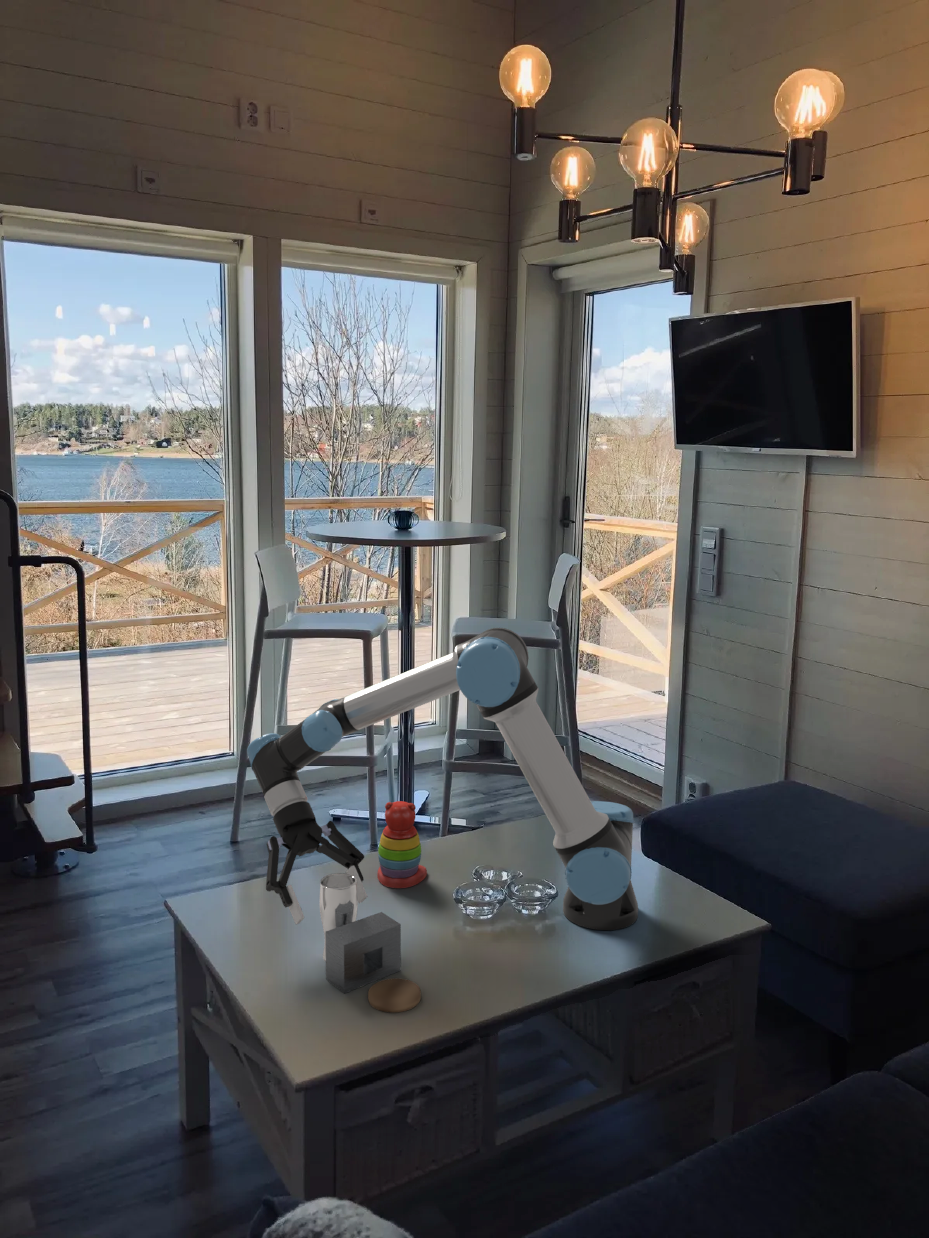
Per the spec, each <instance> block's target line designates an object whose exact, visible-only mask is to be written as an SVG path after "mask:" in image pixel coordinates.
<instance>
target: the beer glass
mask: <svg viewBox="0 0 929 1238" xmlns="http://www.w3.org/2000/svg"><path fill="white" fill-rule="evenodd" d="M319 882H320V885H319V887H320V888H319V913H320V920H321V924H322V929H323V936H324V937H325V932H326V931H329V930H332V929H335V928H337V927H340V926H343V925H346V924H349V923H351V922H354V921H357V917H358V916H357V915H358V906H359V905H358V904H359V902H358V894H357V883H356V878H355V877H354V876H352V875H350V874H346V872H345V873H342V872H340V873H331V874H328V875H326V876H325V875H324V876H323V877H322V878H321V879H320V881H319ZM322 959H323V961H324V963H326V941H325V940H324V946H323V952H322Z"/></svg>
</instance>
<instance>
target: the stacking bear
mask: <svg viewBox="0 0 929 1238" xmlns="http://www.w3.org/2000/svg"><path fill="white" fill-rule="evenodd" d="M416 807H417V806H416V805H415V804H414V803H413V802H407V801H401V800H397V801H393V802H391V801H388V802H386V804H385V806H384V809H385V812H384V820H385V823H386V826H385V827H384V829H383V830H382V833H381V834H380V839H379V843H378V850H377V852H378V853H377V856H378V862H379V867H378V870H377V874H376V875H377V879H378V881H379V883H381V885H383V886H384V887H387V888H391V889H392V888H393V889H407V888H411V887H413V886H416V885H418V884H420V883H421V882H422V881H423V880H425V878H426V877H427V874H428V870H427V867H425V866H424V865H421V864H420V862H421V859H422V845H421V840H420V835H419V833H418V830H417V829H416V827H415V826H414V824H415V821H416Z"/></svg>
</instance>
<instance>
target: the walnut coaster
mask: <svg viewBox="0 0 929 1238" xmlns="http://www.w3.org/2000/svg"><path fill="white" fill-rule="evenodd" d="M421 992H422V991H421V988H420V986H419V985H418V984H417V983H415V982H414V981H412V980H409V979H406V978H397V977H395V978H386V979H382V980H379V981H377V982H375V983H373V985H371V986H370V987H369V989H368V992H367V993H368V995H367V997H368V998H367V999H368V1003H369V1004H370V1006H371V1007H372V1008H374V1009H376V1010H377V1011H380V1012H385V1013H391V1014H392V1013H393V1014H396V1013H402V1012H407V1011H410V1010H412V1009H413V1008H415V1007H416V1006H418V1005H419V1004H420V1001H421V1000H422V999H421V998H422V993H421Z"/></svg>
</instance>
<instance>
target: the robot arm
mask: <svg viewBox="0 0 929 1238" xmlns="http://www.w3.org/2000/svg"><path fill="white" fill-rule="evenodd" d="M453 650H454V651H453V652H451V653H448V654H446V655H444V656H441V657H438V658H435V659H434V660H431V661H427V662H425V663H424V664H422V665H419V666H417V667H414V668H412V669H409V670H407V671H405V672H402V673H400V674H397V675H394V676H393V677H389V678H387V679H385V680H382V681H379V682H377V683H375V684H373V685H370V686H368V687H365V688H363V689H361V690H358V691H355V692H353V693H351V694H348V695H346V696H344V697H341V698H336V699H335V698H334V699H332V700H329V701H326V702H324V703H323V704H321V706H320V707H319V708H317V710H315V711H314V712H312V714H311V713H310V714H309V715H308V716H307V717H306V718H304V719H302V721H301V722H299V723H298V724H296V726H294V727H292V728H291V729H290V730H288V732H286V733H285V734H284V735H282V736H281V735H280V734H278V733H275V732H274V733H273V732H272V733H266V734H263V735H262V736H261V737H256V738H255V739H253V740H252V741H251V742H250V743H249V745H248V746H247V749H246V754H247V757H248V760H249V764H250V768H251V771H253V774H254V776H255V778H256V780H257V782H258V785H259V787H260V790H261V792H262V795H263V797H264V800H265V803H266V805H267V808H268V809H269V810H268V811H269V812H270V815H271V816H272V817H273V818H272V820H273V821H272V822H273V823H274V825H275V827H276V831H277V833H278V834H279V836H280V837H276V836H275V835H273V836H271V837H270V838H269V839H268V841H267V842H266V848H267V852H268V860H267V869H266V870H267V871H266V882H265V890H266V891H267V892H271V891H272V892H273V891H274V893H275V894H277V895H279V897H280V900H281V902H282V906H283V907H285V908H289V911H290V914H291V916H292V919H293V921H294V924H295V925H299V924H300V923H301V922H302V921H303V920H304V919H305V915H304V912H303V910H302V908H301V905H300V903H299V900H298V897H297V895H296V892H295V891H294V888H293V886H292V885H293V884H289V885H287V884H288V881H289V879H290V875H291V872H292V869H293V867H294V864H295V860H296V858H297V856H298V857H303V856H305V855H307V854H313V853H314V852H317V853H318V854H323V855H324V856H326V857H328V858H330V859H331V860H333V861H334V862H336V863H337V864H339V865H341V866H343V867H344V868H346V869H347V870H346V871H345V874H350V875H352V876H354V877H355V878H356V883H357V894H358V904H361V903H363V902H364V901H365V900H366V899H367V898H368V897H369V896H368V894H367V892H366V888H365V887H364V884H363V881H364V876H363V873H362V872H361V869H360V867H359V864H361V862H362V861H363V860H364V859H365V854H364V853H362V852H361V850H359V849H358V847H356V846H355V845H354V844H353V843H352V842H350V840H349V839H348V838H346V836H345V835H343V834H342V833H341V832H340V831H339V830H338V829H337V826H336V825H335V823H334V822H333V820H329V821H328V822H327V823H326V824H324V825H322V826H321V825H319V824H318V822H317V819H316V815H315V813H314V810H313V808H312V806H311V803H310V802H308V800H309V799H308V796H307V794H306V792H305V789H304V787H303V785H302V783H301V780H300V777H299V775H298V771H301V770H302V769H304V768H305V767H306V766H308V765H309V764H311V762H312V763H313V761H314V760H317V759H318V758H320V757H321V756H322V755H323V754H325V753H326V752H329V751H330V750H331V749H332V748H334V747H335V746H336V745H337V744H339V743H340V742H341V741H342V739H343V738H344V737H346V736H349V735H351V734H353V733H355V732H358V731H360V730H363V729H365V728H367V727H370V726H372V725H374V724H378V723H380V722H382V721H383V722H384V721H385V720H387V719H390V718H393V717H395V716H399V715H400V714H403V713H405V712H407V711H410V710H413V709H416V708H418V707H421V706H423V705H426V704H429V703H431V702H434V701H435V700H438V699H441V698H444V697H446V696H449V695H452V694H454V693H455V692H456V693H457V692H458V691H461V693H462V695H463V696H464V697H465V698H466V699H467V700H468V701H469V702H471V703H473V704H475V705H476V707H477V709H478V710H479V712H480V714H481V716H482V718H483V719H484V720H485V721H486V720H487V721H490V722H493V723H495V725H496V726H497V729H498V731H500V733H501V735H502V738H503V739H504V741H505V743H506V744H507V746H508V748H509V750H510V752H511V753H512V756H513V758H514V759H515V761H516V763H517V765H518V767H519V768H520V770H521V772H522V774H523V776H524V778H525V779H526V782H527V783H528V785H529V787H530V789H531V790H532V792H533V794H534V796H535V798H536V800H537V801H538V803H539V805H540V806H541V809H542V811H543V812H544V814H545V816H546V818H547V820H548V821H549V823H550V825H551V827H552V828H553V830H554V833H555V835H554V839H553V841H552V844H553V847H554V849H555V851H556V853H557V854H558V856H559V859H560V860H561V862H562V864H563V866H564V868H565V872H564V874H565V880H566V884H567V886H568V887H567V889H566V891H565V894H564V897H563V901H562V912H563V914H564V916H565V917H566V919H568V921H570V922H571V923H573V924H575V925H577V926H580V927H583V928H587V929H590V930H599V931H614V930H615V931H616V930H620V929H625V928H627V927H629V926H631V925H633V924H634V923H636V921H637V919H638V918H639V917H638V915H639V904H638V901H637V896H636V894H635V891H634V887H633V883H632V880H631V879H632V851H633V850H632V849H633V833H634V832H633V831H634V823H635V820H634V812H633V810H632V808H631V807H628V806H627V805H625V804H621V803H617V802H612V801H600V800H599V801H597V800H595V801H594V800H593V801H591V799H590V798H589V795H588V793H587V792H586V790H585V788H584V786H583V784H582V782H581V781H580V779H579V778H578V776H577V773H576V771H575V770H574V768H573V767H572V765H571V763H570V761H569V759H568V757H567V756H566V754H565V751H564V750H563V748H562V746H561V744H560V743H559V741H558V738H557V737H556V734H555V733H554V731H553V730H552V727H551V726H550V724H549V722H548V720H547V719H546V716H545V715H544V713H543V711H542V709H541V707H540V706H539V704H538V702H537V696H538V693H539V687H538V684H537V683H536V681H535V679H534V678H533V675H532V673H531V672H530V670H529V668H528V664H529V660H530V659H529V651H528V648H527V645H526V643H525V641H524V639H522V637H521V636H520V635H519V634H518V633H517V632H514V631H513V630H511V629H509V628H505V627H493V628H488V629H485V630H484V631H483V632H481V633H479V634H477V635H476V636H474V637H472V638H471V639H468V640H466V641H463V642H462V643H459V644H457V645H456V646H455V648H454V649H453ZM322 835H324V836H322ZM325 837H327V838H328V839H329V840H328V839H327V838H325ZM330 842H332V843H330ZM281 846H283V847H284V848H285V849H287V850H288V851H287V854H286V857H285V861H284V864H283V866H282V869H281V871H280V872H281V873H280V876H279V877H278V870H279V869H278V868H279V859H280V858H279V856H280V848H281Z"/></svg>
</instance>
